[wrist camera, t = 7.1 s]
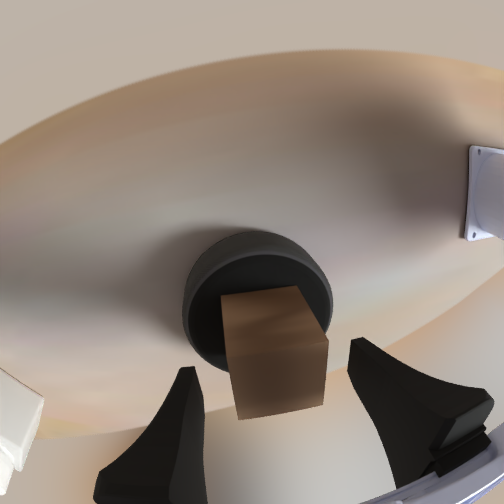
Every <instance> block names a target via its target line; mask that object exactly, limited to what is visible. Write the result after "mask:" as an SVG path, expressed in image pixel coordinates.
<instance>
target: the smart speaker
mask: <svg viewBox="0 0 504 504" xmlns="http://www.w3.org/2000/svg"><path fill="white" fill-rule="evenodd" d="M295 285H297V287H298V289H299V290H300V292H301V294H302V295H303V297H304V299H305V300H306V302H307V304H308V306H309V307H310V309H311V311H312V313H313V314H314V316H315V318H316V319H317V321H318V323H319V325H320V326H321V328H322V330H323V332H324V333H325V334H326V332H327V330H328V327H329V325H330V322H331V318H332V312H333V296H332V291H331V287H330V284H329V282H328V280H327V278H326V276H325V274H324V273H323V271H322V270H321V268H320V267H319V266H318V265H317V263H316V262H315V261H314V260H313V259H312V257H311V256H310V255H309V254H308V253H307V252H306V251H305V250H304V249H303V248H302V247H301V246H299V245H298V244H296V243H295V242H293V241H292V240H290V239H288V238H286V237H283V236H281V235H277V234H273V233H268V232H247V233H241V234H237V235H234V236H231V237H228V238H226V239H224V240H222V241H220V242H218V243H216V244H215V245H213V246H212V247H211V248H209V249H208V250H207V251H206V252H205V253H204V254H203V255H202V256H201V257H200V258H199V259H198V261H197V262H196V264H195V265H194V267H193V268H192V270H191V272H190V274H189V277H188V280H187V283H186V287H185V293H184V300H183V310H182V317H183V325H184V330H185V333H186V336H187V338H188V340H189V342H190V344H191V345H192V347H193V348H194V349H195V351H196V352H197V353H198V354H199V355H200V356H201V357H202V358H203V359H204V360H205V361H207V362H208V363H210V364H211V365H213V366H215V367H216V368H219V369H221V370H223V371H226V372H229V368H228V363H227V357H226V347H225V337H224V327H223V316H222V305H221V296H222V295H230V294H238V293H245V292H253V291H260V290H267V289H274V288H281V287H288V286H295Z"/></svg>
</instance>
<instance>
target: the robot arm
mask: <svg viewBox="0 0 504 504" xmlns="http://www.w3.org/2000/svg"><path fill="white" fill-rule="evenodd" d="M494 236H496V237H498V238H500V239H502V240H504V150H503V149H496V148H489V147H482V146H474V145H472V146H471V147H470V149H469V189H468V205H467V216H466V226H465V234H464V237H465V239H466V240H467V241H473V240H479V239H484V238H489V237H494ZM347 372H348V374H349V377H350V380H351V382H352V385H353V387H354V389H355V391H356V393H357V394H358V396H359V398H360V400H361V402H362V403H363V405H364V407H365V409H366V410H367V412H368V414H369V416H370V417H371V419H372V421H373V423H374V425H375V427H376V429H377V431H378V434H379V436H380V439H381V441H382V444H383V446H384V449H385V452H386V455H387V458H388V461H389V464H390V467H391V470H392V474H393V477H394V481H395V485H396V490H394V491H392V492H389V493H387V494H384V495H382V496H379V497H377V498H374V499H371V500H369V501H366V502H363V503H360V504H472V503H474V502H475V501H477V500H478V499H479V498H481V497H482V496H484V495H485V494H486V493H487V492H489V491H490V490H491V489H493V488H494V487H495V486H497V485H498V484H499V483H500V482H502V481H503V480H504V422H503V423H502V424H501V425H499V426H498V427H497V428H495V429H494V430H492V431H491V432H490V433H489V434H488V435H486V434H485V432H484V431H485V430H486V427H485V426H484V424H483V423H484V422H485V420H486V418H487V417H488V415H489V414H490V412H491V410H492V408H493V406H494V399H493V398H492V397H491V396H490V395H489V394H488V393H487V391H486V390H485V389H482V388H474V387H466V386H462V385H457V384H453V383H449V382H445V381H442V380H439V379H436V378H434V377H431V376H428V375H426V374H424V373H421V372H419V371H417V370H415V369H413V368H411V367H409V366H408V365H406V364H404V363H402V362H400V361H399V360H397V359H395V358H394V357H392V356H391V355H389V354H387V353H386V352H384V351H383V350H381V349H380V348H378V347H377V346H376V345H374V344H373V343H371V342H370V341H368V340H367V339H365V338H364V337H361V338H357V339H352V340H351V345H350V354H349V361H348V369H347ZM204 419H205V413H204V399H203V394H202V391H201V387H200V384H199V380H198V377H197V373H196V370H195V366H191V367H181V368H180V369H179V371H178V374H177V376H176V379H175V381H174V383H173V385H172V387H171V389H170V391H169V393H168V395H167V397H166V399H165V401H164V402H163V404H162V406H161V407H160V409H159V411H158V412H157V414H156V415H155V417H154V418H153V420H152V421H151V423H150V424H149V425H148V427H147V428H146V430H145V431H144V432H143V433H142V434H141V436H139V438H138V439H137V440H136V441H135V442H134V443H133V444H132V445H131V446H130V447H129V448H128V449H127V450H126V451H125V452H124V453H123V454H122V455H121V456H119V457H118V458H117V459H116V460H115V461H114V462H112V463H111V464H109V465H108V466H107V467H105V468H104V469H102V470H101V471H99V474H98V477H97V480H96V485H95V490H94V495H93V499H94V501H95V502H96V503H97V504H208V502H207V495H206V486H205V477H204V466H203V444H204V421H205V420H204Z"/></svg>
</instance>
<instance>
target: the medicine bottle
mask: <svg viewBox="0 0 504 504" xmlns="http://www.w3.org/2000/svg"><path fill="white" fill-rule="evenodd" d="M43 403H44V398H43V397H42V396H41V395H39V394H38V393H36V392H34V391H33V390H31V389H30V388H28V387H27V386H25V385H23V384H22V383H20V382H19V381H17V380H16V379H14V378H13V377H12V376H10V375H9V374H7V373H6V372H5V371H3V370H2V369H0V495H3V494H5V493H6V490H7V487H8V484H9V481H10V478H11V475H12V472H13V469H16V470H17V471H22V469H23V466H24V463H25V461H26V458H27V455H28V452H29V450H30V447H31V444H32V442H33V439H34V437H35V434H36V432H37V429H38V426H39V421H40V416H41V412H42V408H43Z"/></svg>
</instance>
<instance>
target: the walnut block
mask: <svg viewBox="0 0 504 504" xmlns="http://www.w3.org/2000/svg"><path fill="white" fill-rule="evenodd" d="M221 305H222V316H223V327H224V337H225V347H226V357H227V363H228V368H229V374H230V379H231V385H232V390H233V395H234V400H235V405H236V410H237V415H238V420H244V419H252V418H258V417H264V416H271V415H276V414H282V413H287V412H292V411H297V410H302V409H307V408H311V407H316V406H320V405H323V399H324V390H325V380H326V370H327V358H328V345H329V340H328V339H327V337H326V335H325V333H324V332H323V330H322V328H321V326H320V325H319V323H318V321H317V319H316V318H315V316H314V314H313V313H312V311H311V309H310V307H309V306H308V304H307V302H306V300H305V299H304V297H303V295H302V294H301V292H300V290H299V289H298V287H297V285H295V286H288V287H281V288H274V289H267V290H260V291H253V292H245V293H238V294H230V295H222V296H221Z"/></svg>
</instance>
